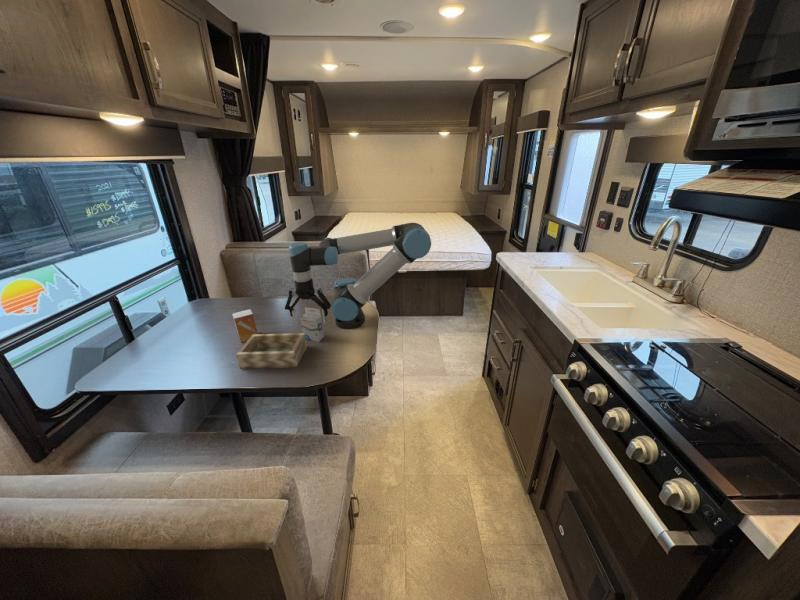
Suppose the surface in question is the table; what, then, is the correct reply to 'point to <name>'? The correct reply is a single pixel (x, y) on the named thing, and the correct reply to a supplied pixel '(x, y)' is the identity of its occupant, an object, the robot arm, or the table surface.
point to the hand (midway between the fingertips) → (310, 322)
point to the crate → (272, 351)
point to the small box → (245, 324)
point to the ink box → (312, 324)
